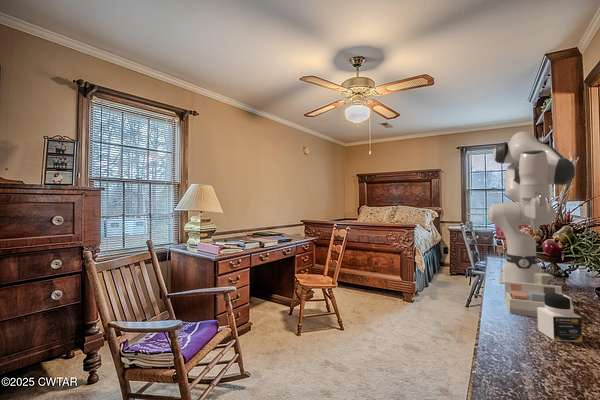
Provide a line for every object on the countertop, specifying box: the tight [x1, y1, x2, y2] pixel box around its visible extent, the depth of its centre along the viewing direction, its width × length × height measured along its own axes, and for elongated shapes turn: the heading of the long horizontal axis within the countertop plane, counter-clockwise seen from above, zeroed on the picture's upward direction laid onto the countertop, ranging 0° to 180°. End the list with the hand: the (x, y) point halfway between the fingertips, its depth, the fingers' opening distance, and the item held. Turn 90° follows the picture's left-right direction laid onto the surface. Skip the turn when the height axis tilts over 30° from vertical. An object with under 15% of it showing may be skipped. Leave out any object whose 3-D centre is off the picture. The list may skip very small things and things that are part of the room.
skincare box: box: [534, 272, 555, 286], centre depth 118 cm, size 5×4×10 cm
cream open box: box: [503, 281, 575, 318], centre depth 106 cm, size 14×17×8 cm
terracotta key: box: [512, 292, 528, 301], centre depth 106 cm, size 5×4×2 cm
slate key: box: [529, 290, 545, 302], centre depth 104 cm, size 5×4×2 cm
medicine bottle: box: [537, 293, 583, 343], centre depth 86 cm, size 7×7×12 cm
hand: (535, 230), depth 111 cm, fingers closed
